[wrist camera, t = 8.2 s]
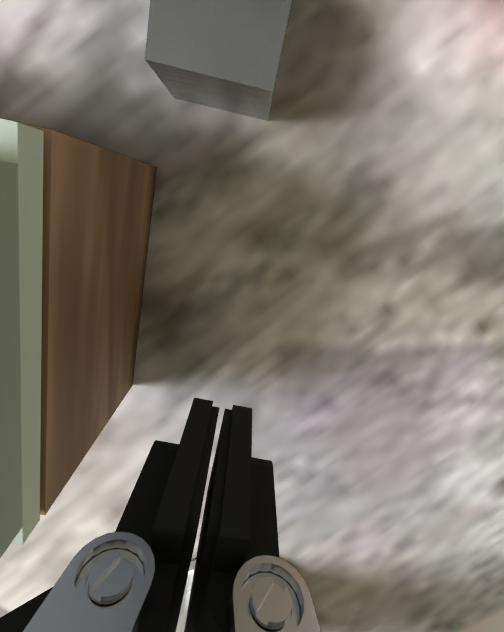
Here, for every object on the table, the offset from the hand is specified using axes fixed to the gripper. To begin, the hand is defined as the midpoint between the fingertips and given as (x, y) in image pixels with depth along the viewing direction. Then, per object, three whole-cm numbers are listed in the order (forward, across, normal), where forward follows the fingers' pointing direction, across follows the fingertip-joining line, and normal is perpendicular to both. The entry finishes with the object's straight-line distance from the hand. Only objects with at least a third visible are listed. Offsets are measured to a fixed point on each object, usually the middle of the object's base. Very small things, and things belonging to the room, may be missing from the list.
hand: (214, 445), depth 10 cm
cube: (+12, +3, -14) cm, 18 cm away
